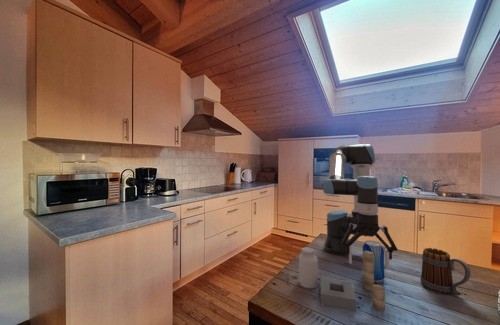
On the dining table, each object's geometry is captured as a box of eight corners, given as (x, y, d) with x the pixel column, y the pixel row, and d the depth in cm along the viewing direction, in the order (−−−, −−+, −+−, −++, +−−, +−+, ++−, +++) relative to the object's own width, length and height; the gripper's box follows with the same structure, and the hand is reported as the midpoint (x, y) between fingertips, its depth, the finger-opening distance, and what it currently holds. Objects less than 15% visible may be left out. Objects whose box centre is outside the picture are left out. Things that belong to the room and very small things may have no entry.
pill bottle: (303, 290, 87) (303, 253, 87) (296, 279, 95) (296, 246, 95) (321, 288, 88) (321, 252, 88) (312, 277, 96) (312, 245, 96)
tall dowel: (362, 285, 89) (361, 250, 90) (372, 287, 88) (372, 251, 88) (364, 291, 86) (363, 254, 86) (375, 292, 84) (374, 255, 85)
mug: (414, 283, 91) (414, 248, 91) (429, 278, 95) (429, 245, 95) (462, 306, 76) (461, 264, 76) (477, 298, 80) (476, 259, 80)
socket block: (320, 286, 89) (320, 277, 89) (351, 291, 85) (351, 281, 85) (320, 304, 78) (320, 293, 78) (356, 311, 74) (356, 300, 74)
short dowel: (370, 302, 79) (370, 283, 79) (383, 304, 77) (382, 285, 78) (373, 309, 75) (373, 289, 75) (386, 311, 74) (386, 291, 74)
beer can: (387, 284, 90) (387, 247, 90) (366, 282, 92) (366, 245, 92) (379, 274, 98) (379, 240, 99) (360, 272, 100) (360, 239, 100)
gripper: (336, 213, 88) (336, 264, 87) (406, 217, 80) (407, 273, 79) (334, 209, 95) (335, 256, 94) (399, 213, 87) (400, 264, 86)
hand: (368, 264), depth 87 cm, fingers open, 13 cm apart
